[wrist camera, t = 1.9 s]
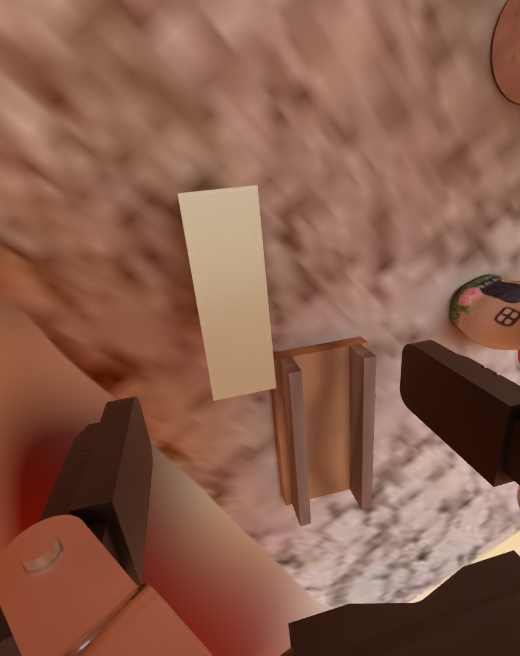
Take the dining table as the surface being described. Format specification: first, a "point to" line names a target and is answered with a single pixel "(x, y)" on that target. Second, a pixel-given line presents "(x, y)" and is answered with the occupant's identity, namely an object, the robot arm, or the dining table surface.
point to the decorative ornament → (489, 312)
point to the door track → (325, 422)
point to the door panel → (230, 287)
